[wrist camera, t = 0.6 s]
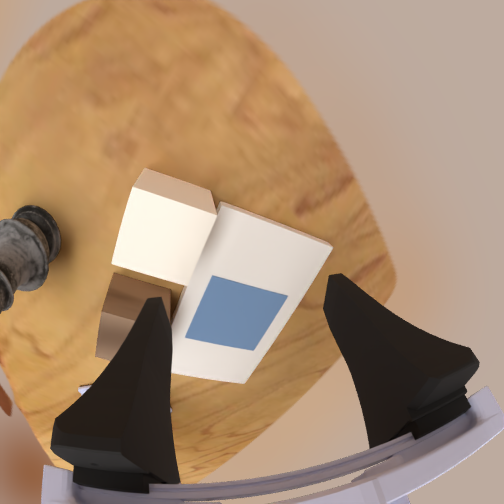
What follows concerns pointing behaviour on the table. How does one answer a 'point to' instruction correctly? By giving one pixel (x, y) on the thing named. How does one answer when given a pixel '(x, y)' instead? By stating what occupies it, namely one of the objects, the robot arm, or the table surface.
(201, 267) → the board
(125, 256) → the cream block
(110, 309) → the walnut block
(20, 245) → the grey tall round piece
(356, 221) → the table surface
